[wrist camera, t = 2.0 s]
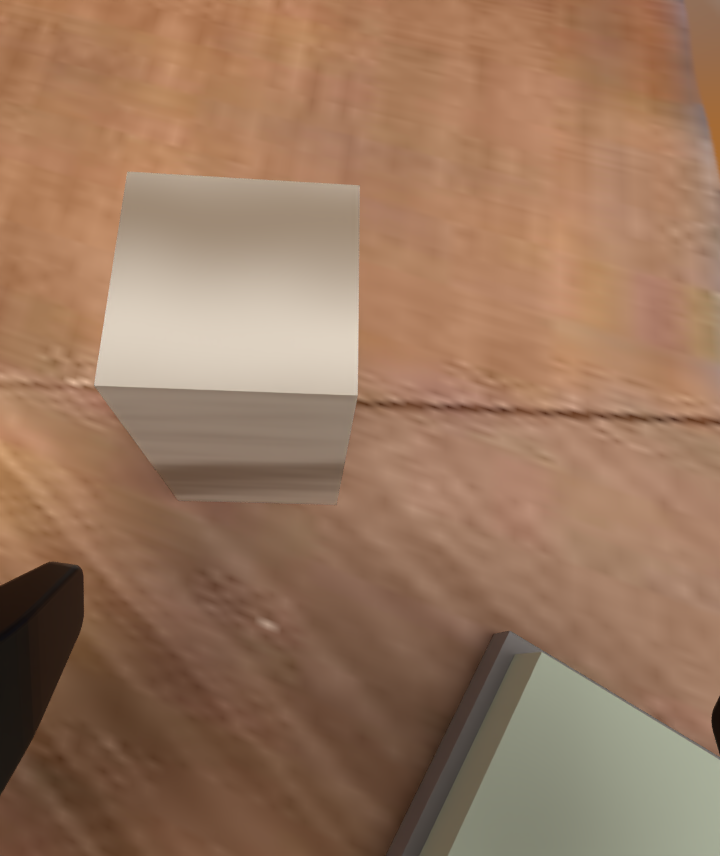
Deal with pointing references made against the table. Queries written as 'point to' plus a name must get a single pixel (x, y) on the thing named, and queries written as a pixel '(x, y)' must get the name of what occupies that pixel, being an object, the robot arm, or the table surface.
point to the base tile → (466, 741)
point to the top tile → (576, 777)
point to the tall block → (235, 334)
